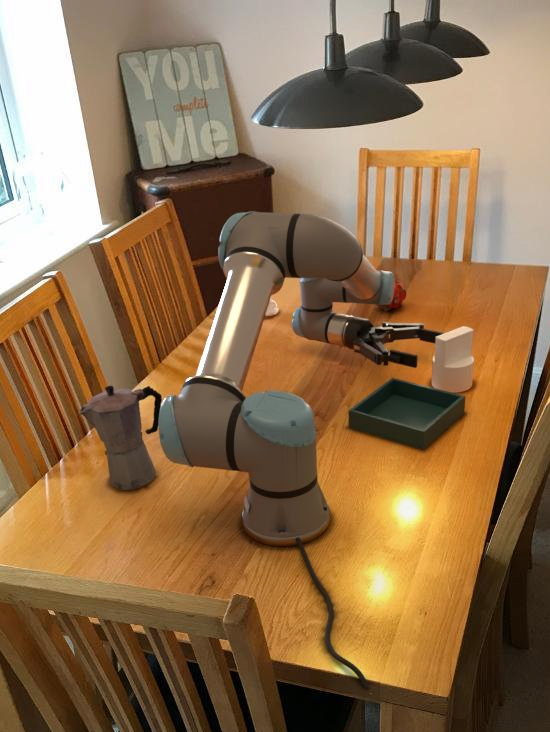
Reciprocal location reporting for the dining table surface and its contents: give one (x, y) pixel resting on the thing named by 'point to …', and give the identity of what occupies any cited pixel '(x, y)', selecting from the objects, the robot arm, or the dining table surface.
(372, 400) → the bin
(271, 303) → the white rounded lump
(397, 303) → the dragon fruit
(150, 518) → the dining table surface
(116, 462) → the moka pot
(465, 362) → the cylinder with rectangular tab
